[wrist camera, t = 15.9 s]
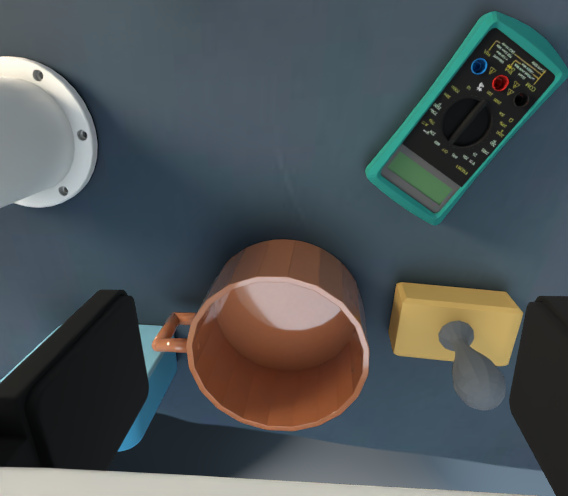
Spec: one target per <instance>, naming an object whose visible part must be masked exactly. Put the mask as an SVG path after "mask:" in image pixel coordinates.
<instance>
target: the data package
mask: <svg viewBox="0 0 568 496" xmlns="http://www.w3.org/2000/svg"><path fill="white" fill-rule="evenodd" d="M138 325H139V330H140V336H141V342H142V348H143V353H144V359H145V365H146V370H147V376H148V382H149V393H148V397H147V400H146V402H145V403H144V405H143V407H142V409H141V410H140V412H139V414H138V416H137V418H136V419H135V421H134V423H133V425H132V427H131V428H130V430H129V432H128V434H127V435H126V437H125V439H124V441H123V443H122V444H121V446H120V448H119V450H118V452H119V451H124V450H128V449H130V448H132V447H134V446H135V445H136V444H137V443H139V442H140V440H141V439H142V438H143V436H144V434H145V432H146V430H147V428H148V426H149V424H150V422H151V420H152V418H153V416H154V414H155V412H156V410H157V408H158V407H159V405H160V403H161V401H162V399H163V397H164V395H165V393H166V391H167V389H168V387H169V385H170V383H171V381H172V379H173V377H174V376H175V374H176V372H177V358H176V353H175V352H156V351H154V350H153V349H152V342H153V340H154V339H155V337H156V336H157V334H158V333H159V331H160V330H161V328H162V327H163V326H156V325H140V324H138ZM60 326H61V325H60ZM60 326H59V327H60ZM59 327H57V328H56V329H55V330H54V331H53V332H52V333H51V334H50V335H49V336H48V337H50V336H51V335H52V334H53V333H54V332H55V331H56V330H57V329H58V328H59ZM48 337H47V338H48ZM47 338H46V339H47ZM172 338H175V336H174V334H173V336H172ZM46 339H44V340H43V341H42V342H41V343H40V344H39V345H38V346H37V347H36V348H35V349H34V350H33V351H32V352H34V351H35V350H36V349H37V348H38V347H39V346H40V345H41V344H42V343H43V342H44V341H45V340H46ZM32 352H30V353H29V354H28V355H27V356H26V357H25V358H24V359H23V360H22V361H21V362H20V363H19V364H18V365H16V366H15V367H14V368H13V369H12V370H11V371H10V372H9V373H8V374H7V375H6V376H5V377H4V378H3V379H1V380H0V383H1V382H2V381H3V380H4V379H5V378H6V377H7V376H8V375H9V374H10V373H11V372H12V371H13V370H14V369H15V368H17V367H18V366H19V365H20V364H21V363H22V362H23V361H24V360H25V359H26V358H27V357H28V356H29V355H30V354H31V353H32Z"/></svg>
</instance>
